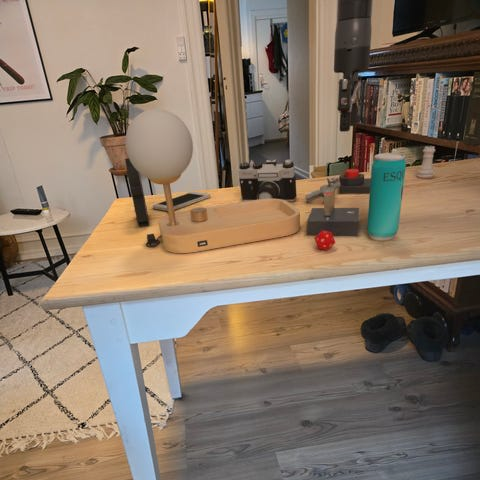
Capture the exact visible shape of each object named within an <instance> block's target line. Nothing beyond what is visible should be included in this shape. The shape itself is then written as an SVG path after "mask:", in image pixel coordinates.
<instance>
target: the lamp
mask: <svg viewBox="0 0 480 480" xmlns="http://www.w3.org/2000/svg"><path fill="white" fill-rule="evenodd" d="M124 144H125V151H126V154H127V158H129V160H130V162H131V163H132V165H133V166H134V167H135V169H136V170H137V171H138V172H139V173H140V175H142V176H144V177H145V178H147V179H148V181H150V182H152V183H153V184H156V185H162V187H163V192H164V198H165V201H166V205H167V210H168V211H167V214H165V215H163V216H162V217H161V218H159V219H158V223H157V224H158V226H159V228H158V229H159V234H160V235H159V236H158V237H157V238H156V235H155V234H154V233H149V234H146V240H147V242H146V244H145V246H146V247H148V248H156V247H157V246H158V245H159V244H161V242H162V244H163V248H164V250H166V251H167V252H170V253H175V254H191V253H197V252H203V251H209V250H214V249H220V248H226V247H233V246H237V245H242V244H243V245H244V244H250V243H255V242H261V241H267V240H272V239H277V238H283V237H288V236H291V235H294V234H296V233H298V232H299V231H300V229H301V211H300V209H299V208H298V207H296V206H295V205H293V204H292V203H290V201H285V200H282V199H258V200H252V201H240V202H239V201H238V202H233V203H226V204H221V205H220V204H219V205H215V206H213V205H212V206H206V207H193V208H191V209H188V210H182V211H176V212H175V210H174V207H173V201H172V199H173V196H172V195H173V194H172V189H171V184H173V183H175V182H177V181H178V180H179V179H180V178H181V177H182V174H183V173H184V172H185V171H186V170H187V168H188V167H189V166H190V163H191V162H192V161H191V160H192V159H193V153H194V143H193V138H192V134H191V132H190V129H189V127H188V126H187V124H186V123H185V122H184V121H183V119H181V118H180V117H179V116H178V115H176V114H174V113H173V112H171V111H169V110H166V109H161V108H151V109H148V110H144V111H143V112H140V113H139V114H138V115H137V116H136V117H134V118H133V119H132V121H131V122H130V123H129V126H128V128H127V130H126V134H125V143H124ZM159 238H161V240H159Z"/></svg>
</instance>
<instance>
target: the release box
mask: <svg viewBox="0 0 480 480" xmlns="http://www.w3.org/2000/svg"><path fill="white" fill-rule="evenodd" d="M338 179H339V181H340V185H341V186H340V187H339V188H338V194H370V183H371V177H367V178H365V174H363V173H361V172H359V177H354V178H348V177H345V173H342V174H340V175H339V177H338Z"/></svg>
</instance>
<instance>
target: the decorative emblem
mask: <svg viewBox="0 0 480 480" xmlns="http://www.w3.org/2000/svg"><path fill="white" fill-rule="evenodd" d="M124 160H125V166H126V173H127V178H128V179H127V180H128V184H129V185H128V186H129V190H130V196H131V199H132V202H133V203H132V204H133V207H134V208H133V209H134V213H135V217H136V222H137V224H138V228H143V227H150V221H149V213H148V206H147V202H146V197H145V193H144V189H143V183H142V178H141V173H139V172H138V171H137V170H136V169H135V167H134V166H133V165H132V163H131V162H130V160H129V157H127V158H124Z"/></svg>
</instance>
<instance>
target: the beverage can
mask: <svg viewBox="0 0 480 480" xmlns="http://www.w3.org/2000/svg"><path fill="white" fill-rule="evenodd" d="M405 157H406V155H405V154H404V153H401V152H384V153H378V154H375V155H374V157H373V158H374V160H373V162H372V163H371V169H370V170H371V171H370V178H371V183H370V193H369V195H368V196H369V197H368V210H367V221H366V222H367V223H366V230H367V234H368V237H369V239H370V240H372V241H373V240H374V241H377V242H387V241H391V240H393V239H394V238H395V236H396V234H397V232H398V230H399V225H400V216H401V209H402V202H403V201H402V200H403V193H404V184H405V175H406V169H407V163H406V160H405Z"/></svg>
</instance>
